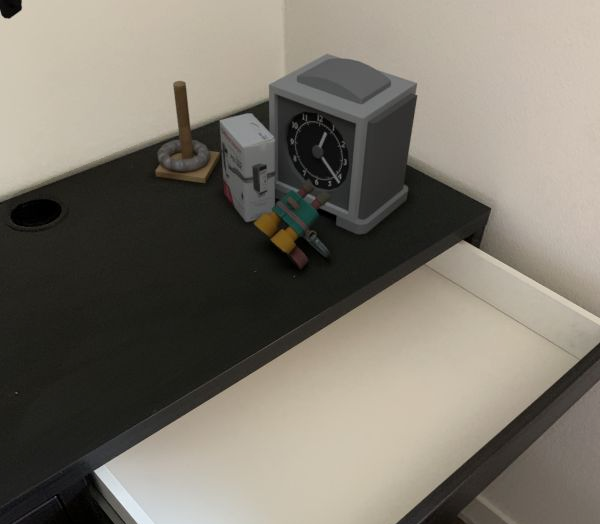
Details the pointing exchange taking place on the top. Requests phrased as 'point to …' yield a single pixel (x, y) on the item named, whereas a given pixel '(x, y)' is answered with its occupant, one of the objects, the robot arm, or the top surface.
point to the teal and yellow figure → (294, 223)
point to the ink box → (248, 165)
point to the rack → (186, 143)
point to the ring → (183, 164)
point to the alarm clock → (343, 137)
